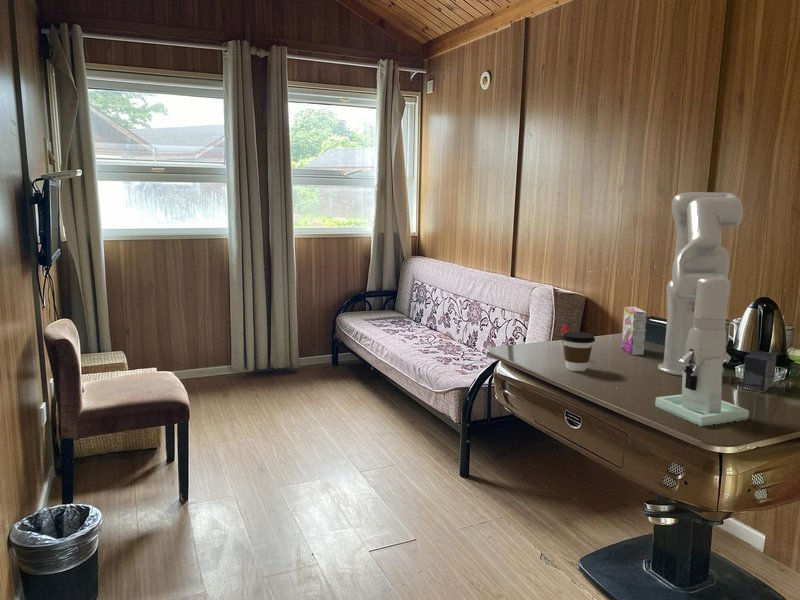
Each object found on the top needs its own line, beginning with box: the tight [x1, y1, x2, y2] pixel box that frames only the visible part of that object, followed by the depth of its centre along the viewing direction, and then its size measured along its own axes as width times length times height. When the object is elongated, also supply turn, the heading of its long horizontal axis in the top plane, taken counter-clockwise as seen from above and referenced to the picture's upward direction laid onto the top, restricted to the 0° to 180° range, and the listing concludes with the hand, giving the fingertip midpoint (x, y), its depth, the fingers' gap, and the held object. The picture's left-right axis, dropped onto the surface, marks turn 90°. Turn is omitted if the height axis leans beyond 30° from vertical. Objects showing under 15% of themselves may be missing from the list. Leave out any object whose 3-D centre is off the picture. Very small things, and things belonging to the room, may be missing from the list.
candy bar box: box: [621, 306, 648, 356], centre depth 226 cm, size 11×5×16 cm, turn 179°
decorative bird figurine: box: [560, 323, 571, 345], centre depth 223 cm, size 3×18×10 cm, turn 8°
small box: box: [741, 350, 778, 391], centre depth 185 cm, size 11×6×10 cm, turn 135°
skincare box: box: [681, 356, 723, 414], centre depth 162 cm, size 8×6×15 cm
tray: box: [654, 393, 750, 427], centre depth 163 cm, size 16×16×2 cm
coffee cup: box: [561, 331, 596, 372], centre depth 202 cm, size 11×11×12 cm
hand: (702, 387), depth 162 cm, fingers open, 7 cm apart
